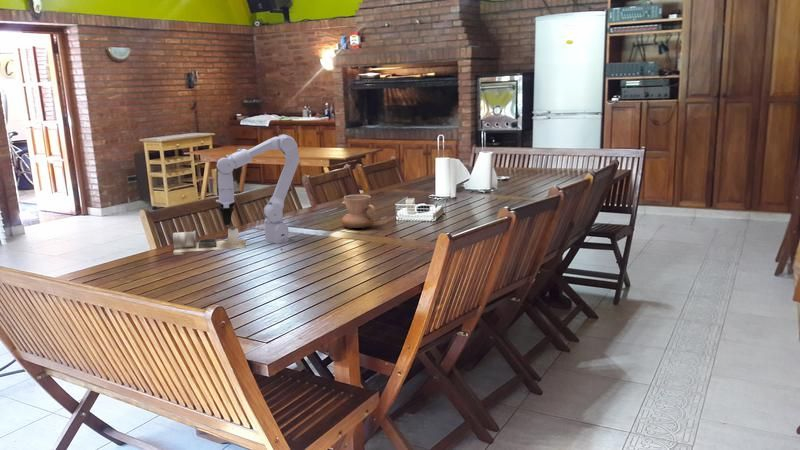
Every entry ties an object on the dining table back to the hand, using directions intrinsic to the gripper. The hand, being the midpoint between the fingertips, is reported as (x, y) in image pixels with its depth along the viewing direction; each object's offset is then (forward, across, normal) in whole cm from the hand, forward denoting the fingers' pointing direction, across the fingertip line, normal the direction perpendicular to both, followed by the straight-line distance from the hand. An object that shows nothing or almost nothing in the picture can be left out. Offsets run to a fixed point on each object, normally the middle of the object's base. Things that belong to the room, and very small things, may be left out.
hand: (227, 222), depth 252 cm
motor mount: (+10, +1, -6) cm, 11 cm away
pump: (+9, +1, +2) cm, 9 cm away
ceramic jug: (+9, -21, +56) cm, 61 cm away
